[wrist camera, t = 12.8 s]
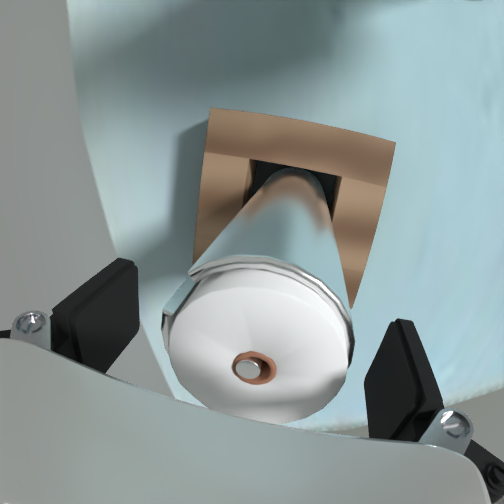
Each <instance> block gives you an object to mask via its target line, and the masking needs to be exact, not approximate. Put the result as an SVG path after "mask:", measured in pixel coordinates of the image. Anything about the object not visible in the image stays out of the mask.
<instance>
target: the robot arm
mask: <svg viewBox="0 0 504 504" xmlns="http://www.w3.org/2000/svg"><path fill="white" fill-rule="evenodd" d="M52 311H53V315H51V316H50V317H49V316H48V315H47V314H46V313H44V312H41V311H27V312H25V313H22V314H20V315H19V316H17V317H16V318H15V320H14V321H13V323H12V327H11V330H5V331H0V504H504V463H503V462H502V461H501V460H500V459H498V458H497V457H495V456H494V455H493V454H491V453H490V452H488V451H487V450H486V449H484V448H483V447H482V446H480V445H479V444H477V443H476V442H475V441H473V440H472V439H471V438H472V436H473V433H474V426H473V423H472V421H471V420H470V418H469V417H468V416H467V415H466V414H465V413H464V412H462V411H460V410H458V409H455V408H444V405H443V402H442V401H443V399H442V397H441V394H440V391H439V388H438V385H437V382H436V379H435V377H434V374H433V371H432V368H431V366H430V363H429V361H428V358H427V355H426V353H425V350H424V348H423V345H422V343H421V340H420V338H419V335H418V333H417V331H416V328H415V326H414V323H413V322H412V321H410V320H404V319H396V320H395V322H391V323H390V324H389V326H388V329H387V331H386V333H385V336H384V338H383V340H382V343H381V345H380V347H379V349H378V351H377V354H376V356H375V358H374V360H373V362H372V364H371V366H370V368H369V370H368V372H367V374H366V377H365V380H364V390H365V399H366V408H367V418H368V428H369V438H364V437H354V436H346V435H338V434H330V433H323V432H316V431H309V430H303V429H297V428H292V427H286V426H281V425H276V424H271V423H266V422H261V421H257V420H252V419H248V418H243V417H239V416H235V415H231V414H227V413H223V412H219V411H215V410H212V409H208V408H204V407H201V406H197V405H194V404H190V403H187V402H184V401H181V400H177V399H174V398H171V397H168V396H165V395H161V394H159V393H156V392H153V391H150V390H147V389H144V388H141V387H138V386H136V385H133V384H130V383H128V382H125V381H122V380H120V379H117V378H115V377H112V376H110V375H107V374H105V373H106V372H107V370H108V369H109V368H110V366H111V365H112V364H113V363H114V361H115V360H116V359H117V358H118V356H119V355H120V354H121V352H122V351H123V350H124V349H125V348H126V346H127V345H128V344H129V343H130V341H131V340H132V339H133V338H134V336H135V335H136V334H137V332H138V330H139V324H140V321H139V299H138V268H137V266H135V265H134V262H133V261H130V260H127V259H123V258H117V259H116V260H115V261H114V262H112V263H111V264H109V265H108V266H107V267H105V268H104V269H103V270H101V271H100V272H99V273H97V274H96V275H95V276H94V277H92V278H91V279H89V280H88V281H87V282H85V283H84V284H83V285H82V286H80V287H79V288H78V289H77V290H75V291H74V292H73V293H71V294H70V295H69V296H68V297H66V298H65V299H64V300H63V301H61V302H60V303H59V304H58V305H56V306H55V307H54V308H53V309H52Z"/></svg>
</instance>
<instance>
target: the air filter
mask: <svg viewBox="0 0 504 504" xmlns="http://www.w3.org/2000/svg"><path fill="white" fill-rule="evenodd" d="M187 274H188V275H189V276H188V278H187V279H186V280H185V281H184V282H183V284H182V285H181V286H180V287H179V289H178V290H177V291H176V292H175V294H174V295H173V296H172V297H171V299H170V300H169V301H168V302H167V304H166V305H165V306H164V307H163V313H162V324H161V331H162V336H163V340H164V345H165V349H166V351H167V353H168V355H169V357H170V361H171V365H172V368H173V370H174V372H175V374H176V376H177V379H178V381H179V383H180V384H181V385H182V386H183V387H184V388H185V389H186V390H187V391H188V392H189V393H190V394H192V395H193V396H194V397H195V398H196V399H197V400H199V401H200V402H201V403H202V404H204V405H205V406H206V407H207V408H209V409H212V410H215V411H219V412H223V413H227V414H231V415H235V416H239V417H243V418H248V419H252V420H257V421H261V422H266V423H271V424H283V423H289V422H293V421H296V420H300V419H303V418H306V417H308V416H310V415H312V414H314V413H316V412H318V411H320V410H321V409H323V408H324V407H325V406H326V405H327V404H328V403H329V402H330V401H331V400H332V399H333V398H334V397H335V396H336V395H337V394H338V392H339V390H340V389H341V387H342V386H343V384H344V382H345V379H346V373H347V370H348V368H349V366H350V364H351V362H352V357H353V351H354V346H355V336H354V330H353V324H352V318H351V312H350V307H349V301H348V296H347V291H346V286H345V281H344V276H343V271H342V266H341V262H340V257H339V253H338V248H337V244H336V239H335V235H334V231H333V226H332V222H331V218H330V214H329V210H328V206H327V202H326V198H325V194H324V190H323V187H322V186H321V184H320V182H319V180H318V179H317V178H316V177H315V176H314V175H313V174H311V173H309V172H308V171H306V170H303V169H299V168H285V169H281V170H279V171H277V172H276V173H274V174H272V175H271V176H270V177H269V178H268V179H267V181H266V182H265V183H264V185H263V186H262V187H261V188H260V189H259V190H258V191H257V192H256V193H255V195H254V196H253V197H252V198H251V199H250V200H249V201H248V203H247V204H246V205H245V206H244V207H243V208H242V209H241V210H240V212H239V213H238V214H237V215H236V216H235V217H234V218H233V220H232V221H231V222H230V223H229V224H228V225H227V227H226V228H225V229H224V230H223V231H222V232H221V233H220V235H219V236H218V237H217V238H216V239H215V240H214V242H213V243H212V244H211V245H210V246H209V247H208V249H207V250H206V251H205V252H204V253H203V254H202V256H201V257H200V258H199V259H198V260H197V262H196V263H195V264H194V265H193V266H192V267H191V269H190V270H189V271H188V272H187Z"/></svg>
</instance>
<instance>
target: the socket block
mask: <svg viewBox="0 0 504 504" xmlns="http://www.w3.org/2000/svg"><path fill="white" fill-rule="evenodd" d="M395 145H396V142H392V141H389V140H385V139H382V138H378V137H374V136H370V135H366V134H362V133H358V132H354V131H350V130H346V129H341V128H337V127H332V126H328V125H323V124H318V123H313V122H308V121H302V120H297V119H291V118H285V117H279V116H273V115H267V114H260V113H253V112H245V111H237V110H228V109H219V108H210V114H209V121H208V128H207V136H206V143H205V151H204V159H203V167H202V175H201V184H200V193H199V202H198V211H197V221H196V232H195V243H194V254H193V265H194V264H195V263H196V262H197V260H198V259H199V258H200V257H201V256H202V254H203V253H204V252H205V251H206V250H207V249H208V247H209V246H210V245H211V244H212V243H213V242H214V240H215V239H216V238H217V237H218V236H219V235H220V233H221V232H222V231H223V230H224V229H225V228H226V227H227V225H228V224H229V223H230V222H231V221H232V220H233V218H234V217H235V216H236V215H237V214H238V213H239V212H240V210H241V209H242V208H243V207H244V206H245V205H246V204H247V203H248V201H249V200H250V199H251V197H252V191H253V184H254V178H255V171H256V165H257V160H260V161H266V162H272V163H277V164H283V165H288V166H294V167H299V168H304V169H309V170H314V171H318V172H323V173H328V174H332V175H336V179H335V184H334V188H333V193H332V198H331V203H330V207H329V214H330V218H331V222H332V226H333V231H334V235H335V239H336V244H337V248H338V253H339V257H340V262H341V266H342V271H343V276H344V281H345V286H346V291H347V296H348V301H349V307H350V309H352V307H353V304H354V301H355V298H356V295H357V292H358V289H359V286H360V283H361V279H362V276H363V273H364V270H365V266H366V263H367V260H368V256H369V253H370V249H371V246H372V242H373V239H374V235H375V232H376V228H377V224H378V220H379V216H380V212H381V208H382V204H383V200H384V196H385V192H386V188H387V183H388V179H389V174H390V170H391V165H392V160H393V155H394V150H395Z"/></svg>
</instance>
